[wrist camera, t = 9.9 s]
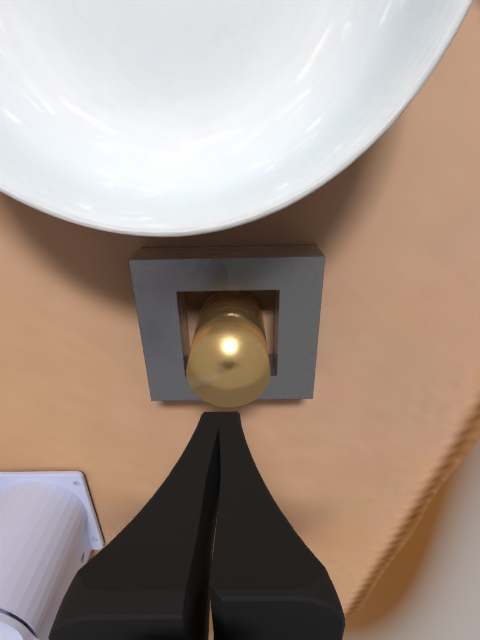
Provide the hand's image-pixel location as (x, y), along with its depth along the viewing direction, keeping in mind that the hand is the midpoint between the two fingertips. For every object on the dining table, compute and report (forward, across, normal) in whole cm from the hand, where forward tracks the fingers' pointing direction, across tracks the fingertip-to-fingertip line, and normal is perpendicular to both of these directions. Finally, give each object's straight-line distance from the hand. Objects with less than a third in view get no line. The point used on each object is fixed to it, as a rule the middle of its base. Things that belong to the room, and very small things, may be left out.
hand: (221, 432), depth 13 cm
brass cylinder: (+10, 0, 0) cm, 10 cm away
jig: (+10, 0, 0) cm, 10 cm away
